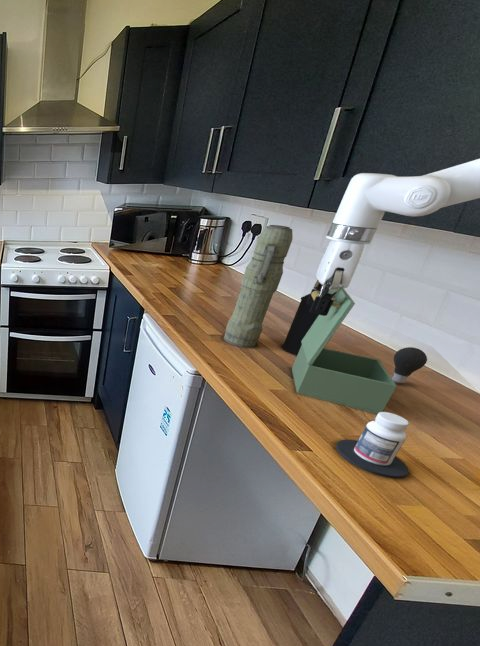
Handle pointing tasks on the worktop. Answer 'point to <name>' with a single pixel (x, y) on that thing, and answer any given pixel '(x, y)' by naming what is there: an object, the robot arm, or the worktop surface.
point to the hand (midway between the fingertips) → (316, 309)
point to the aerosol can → (299, 327)
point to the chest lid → (326, 324)
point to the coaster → (390, 471)
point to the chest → (344, 380)
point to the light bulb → (407, 363)
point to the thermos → (258, 286)
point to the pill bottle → (382, 439)
